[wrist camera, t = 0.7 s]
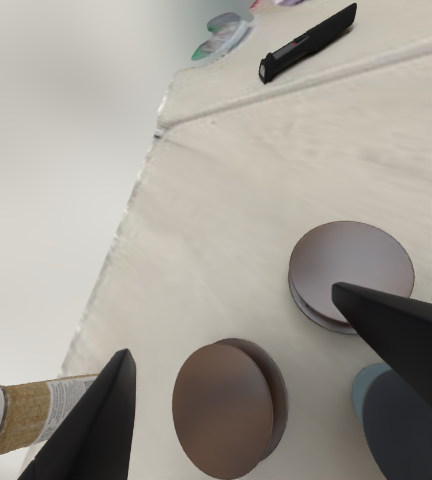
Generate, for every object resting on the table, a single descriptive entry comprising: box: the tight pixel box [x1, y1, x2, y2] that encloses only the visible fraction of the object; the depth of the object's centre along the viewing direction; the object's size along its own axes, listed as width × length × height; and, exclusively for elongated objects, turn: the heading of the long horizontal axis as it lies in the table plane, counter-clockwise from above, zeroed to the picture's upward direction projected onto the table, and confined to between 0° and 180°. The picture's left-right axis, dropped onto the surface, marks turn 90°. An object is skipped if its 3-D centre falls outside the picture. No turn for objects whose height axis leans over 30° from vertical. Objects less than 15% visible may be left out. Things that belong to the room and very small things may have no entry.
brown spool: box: [172, 338, 288, 480], centre depth 17 cm, size 9×9×4 cm
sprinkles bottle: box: [0, 374, 99, 455], centre depth 19 cm, size 5×5×14 cm
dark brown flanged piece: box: [288, 221, 414, 335], centre depth 18 cm, size 9×9×4 cm
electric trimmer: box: [259, 3, 357, 82], centre depth 34 cm, size 4×16×3 cm, turn 104°
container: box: [352, 363, 432, 480], centre depth 12 cm, size 6×6×7 cm
